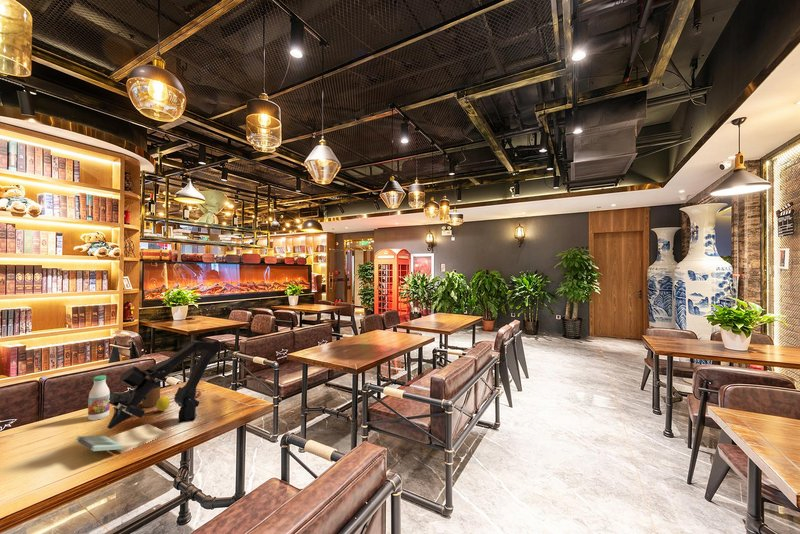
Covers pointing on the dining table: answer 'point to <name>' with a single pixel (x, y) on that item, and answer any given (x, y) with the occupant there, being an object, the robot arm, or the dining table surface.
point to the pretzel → (197, 393)
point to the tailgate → (98, 443)
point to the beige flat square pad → (137, 437)
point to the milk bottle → (99, 399)
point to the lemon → (163, 403)
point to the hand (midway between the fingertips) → (108, 428)
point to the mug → (152, 397)
